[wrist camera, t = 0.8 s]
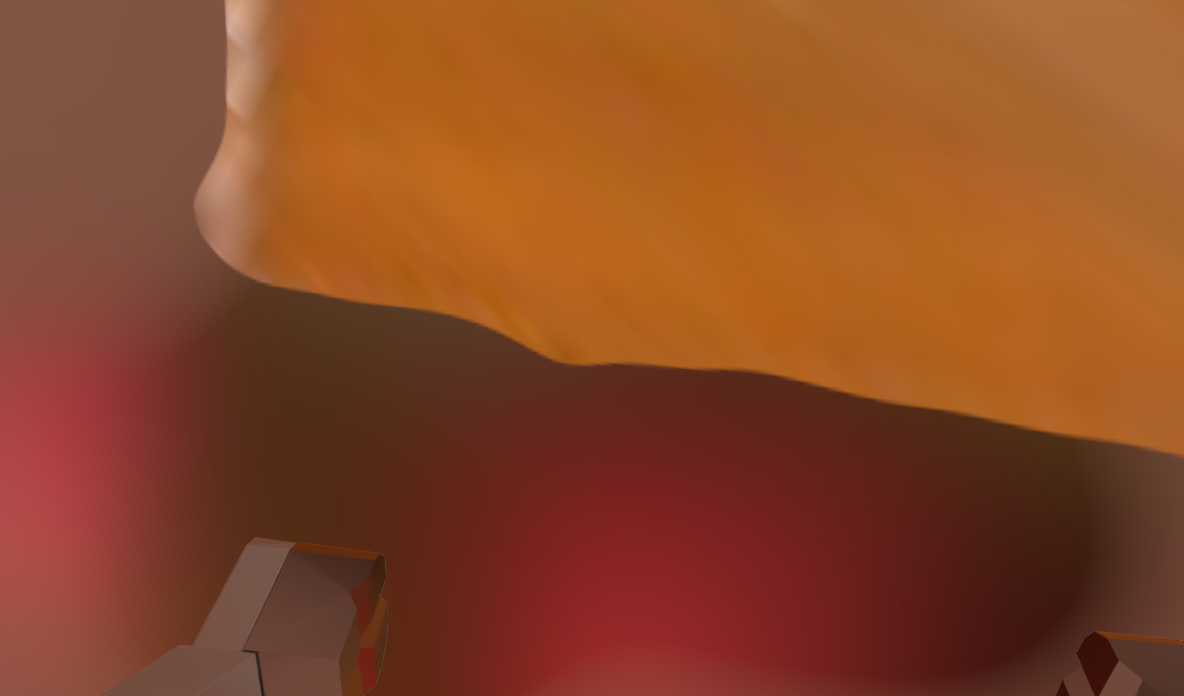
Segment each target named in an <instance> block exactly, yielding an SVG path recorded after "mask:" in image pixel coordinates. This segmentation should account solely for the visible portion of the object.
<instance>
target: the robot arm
mask: <svg viewBox="0 0 1184 696" xmlns="http://www.w3.org/2000/svg"><path fill="white" fill-rule="evenodd" d="M385 579H386V569H385V556H383V555H382V554H381V553H373V552H366V551H358V550H351V549H344V548H336V547H329V546H322V545H314V544H307V543H299V542H298V543H293V542H286V541H278V540H271V539H264V538H256V537H255V538H254V539H253V540H252V541H251V542H250V543H249V544H248V545H246V546H245V548H244V550H243V552H242V553H241V555H240V557H239V559H238V561H237V563H236V564H235V566H234V568H233V570H232V572H231V574H230V576H229V578H228V580H227V581H226V583H225V585H224V587H223V589H222V591H221V593H220V594H219V596H218V598H217V600H216V602H215V604H214V606H213V607H212V609H211V611H210V613H209V615H208V617H207V619H206V621H205V623H204V624H203V626H202V628H201V630H200V632H199V634H198V636H197V637H196V639H195V641H194V643H193V645H192V646H187V645H178V646H177V647H175V648H173V649H172V650H170V651H169V652H167V653H166V654H164V655H163V656H161V657H159V658H158V659H156V660H155V661H153V662H152V663H150V664H149V665H147V666H146V667H144V668H143V669H141V670H140V671H138V672H137V673H135V674H134V675H132V676H130V677H129V678H127V679H126V680H124V681H123V682H121V683H120V684H118V685H117V686H115V687H114V688H112V689H111V690H109V691H108V692H106V693H104V694H103V695H101V696H364V694H365V693H366V692H368V691H369V690H370V689H371V688H373V687H374V686H375V685H376V682H377V679H378V675H379V672H380V669H381V665H382V661H383V655H384V650H385V645H386V640H387V628H388V605H387V603H386V602H385V601H384V600H383V599H382V598H381V597H380V595H381V591H382V588H383V586H384V583H385ZM1076 654H1077V656H1078V659H1079V661H1080V663H1081V665H1082V668H1081V669H1080V670H1078V671H1076V672H1075V673H1073V674H1071V675H1069V676H1068V677H1066V678H1064V679H1063V680H1062V682H1061V685H1060V687H1059V689H1058V692H1057V694H1056V696H1184V641H1180V640H1177V639H1167V638H1158V637H1148V636H1137V635H1128V634H1118V633H1108V632H1098V631H1094V632H1092V633H1091V634H1090V635H1088V636H1087V637H1085V638H1084V640H1083V641H1082V643H1081V645H1080V647H1079V649H1078V651H1077V653H1076Z"/></svg>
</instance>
